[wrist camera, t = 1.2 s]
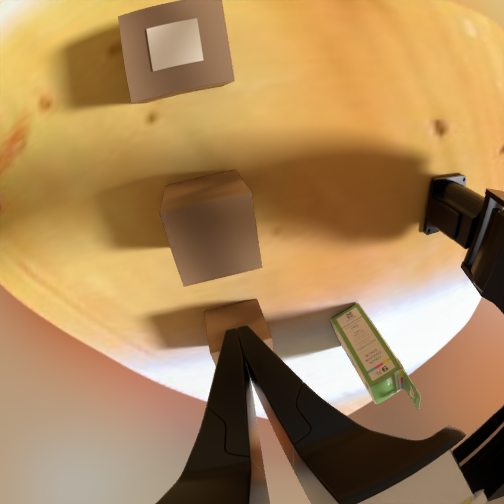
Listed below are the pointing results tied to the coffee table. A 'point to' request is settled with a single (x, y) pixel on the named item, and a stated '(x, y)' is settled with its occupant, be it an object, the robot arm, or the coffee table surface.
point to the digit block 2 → (235, 324)
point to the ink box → (372, 356)
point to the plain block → (211, 227)
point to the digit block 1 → (175, 49)
